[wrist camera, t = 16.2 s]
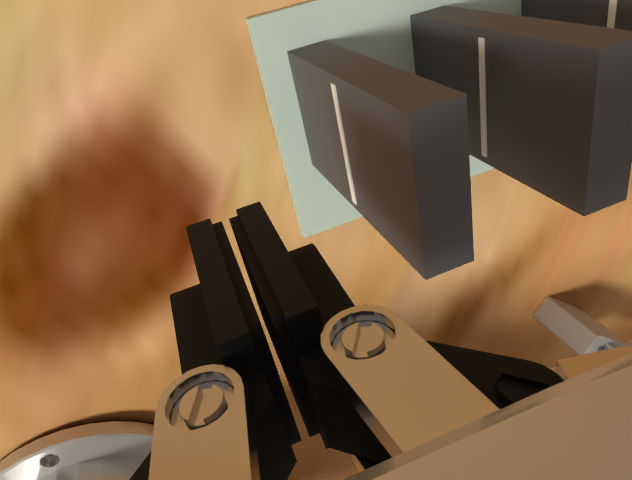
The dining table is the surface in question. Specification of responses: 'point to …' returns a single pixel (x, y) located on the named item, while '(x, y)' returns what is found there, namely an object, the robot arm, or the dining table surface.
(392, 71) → the domino
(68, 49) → the dining table surface
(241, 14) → the dining table surface
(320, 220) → the mat
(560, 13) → the domino
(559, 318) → the lighter
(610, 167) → the domino
